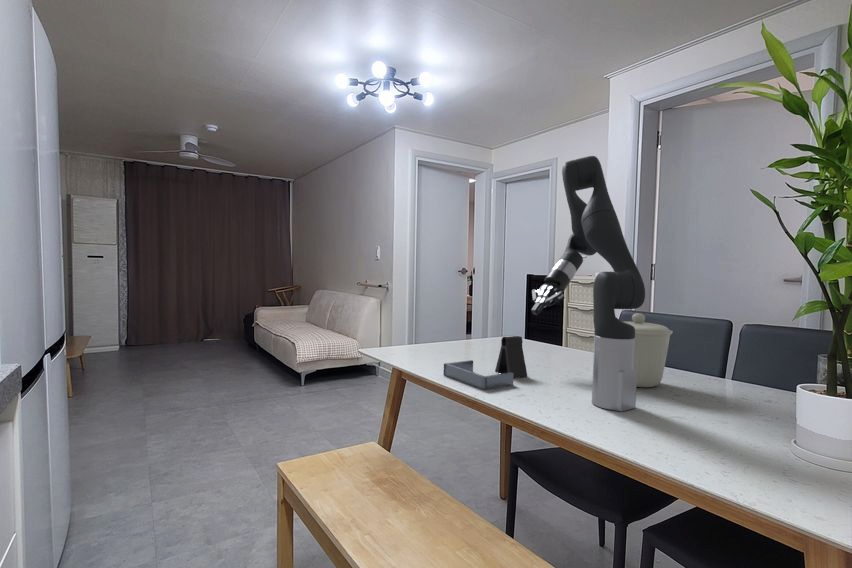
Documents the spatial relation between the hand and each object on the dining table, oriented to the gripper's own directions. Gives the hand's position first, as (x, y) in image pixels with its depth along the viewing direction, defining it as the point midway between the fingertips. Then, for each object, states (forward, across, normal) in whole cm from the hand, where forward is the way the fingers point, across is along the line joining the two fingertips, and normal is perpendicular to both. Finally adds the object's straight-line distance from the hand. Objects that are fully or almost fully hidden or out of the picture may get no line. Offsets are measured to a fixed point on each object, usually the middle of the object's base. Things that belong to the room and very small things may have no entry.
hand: (534, 313), depth 141 cm
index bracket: (+30, 0, -4) cm, 31 cm away
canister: (+2, +26, +25) cm, 36 cm away
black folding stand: (+21, 0, +7) cm, 22 cm away
